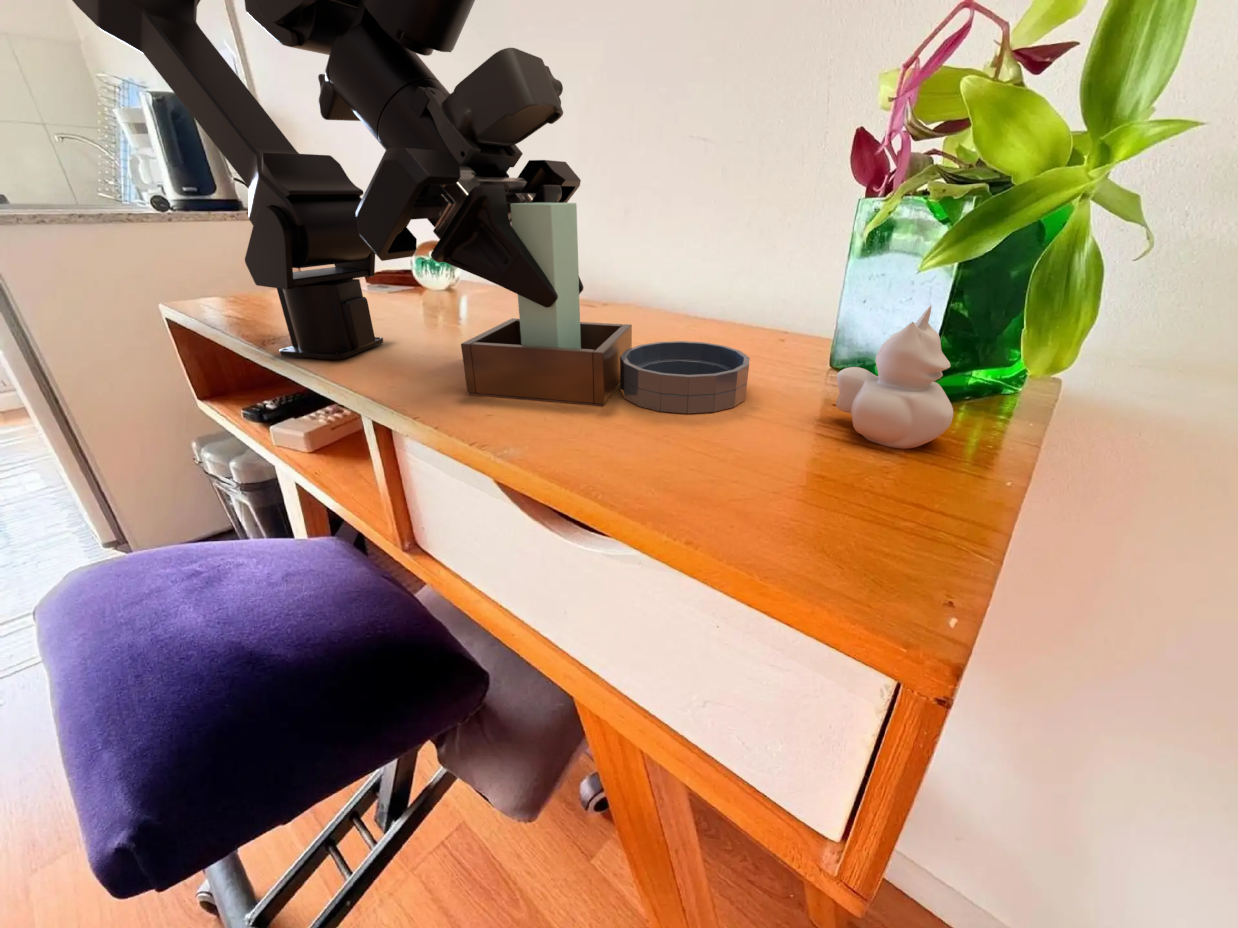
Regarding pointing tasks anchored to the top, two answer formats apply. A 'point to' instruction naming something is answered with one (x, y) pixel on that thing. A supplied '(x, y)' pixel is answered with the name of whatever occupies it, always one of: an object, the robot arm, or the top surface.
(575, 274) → the tall sage green pillar
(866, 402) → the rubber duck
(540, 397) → the holder
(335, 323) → the robot arm
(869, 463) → the top surface
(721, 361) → the bowl
